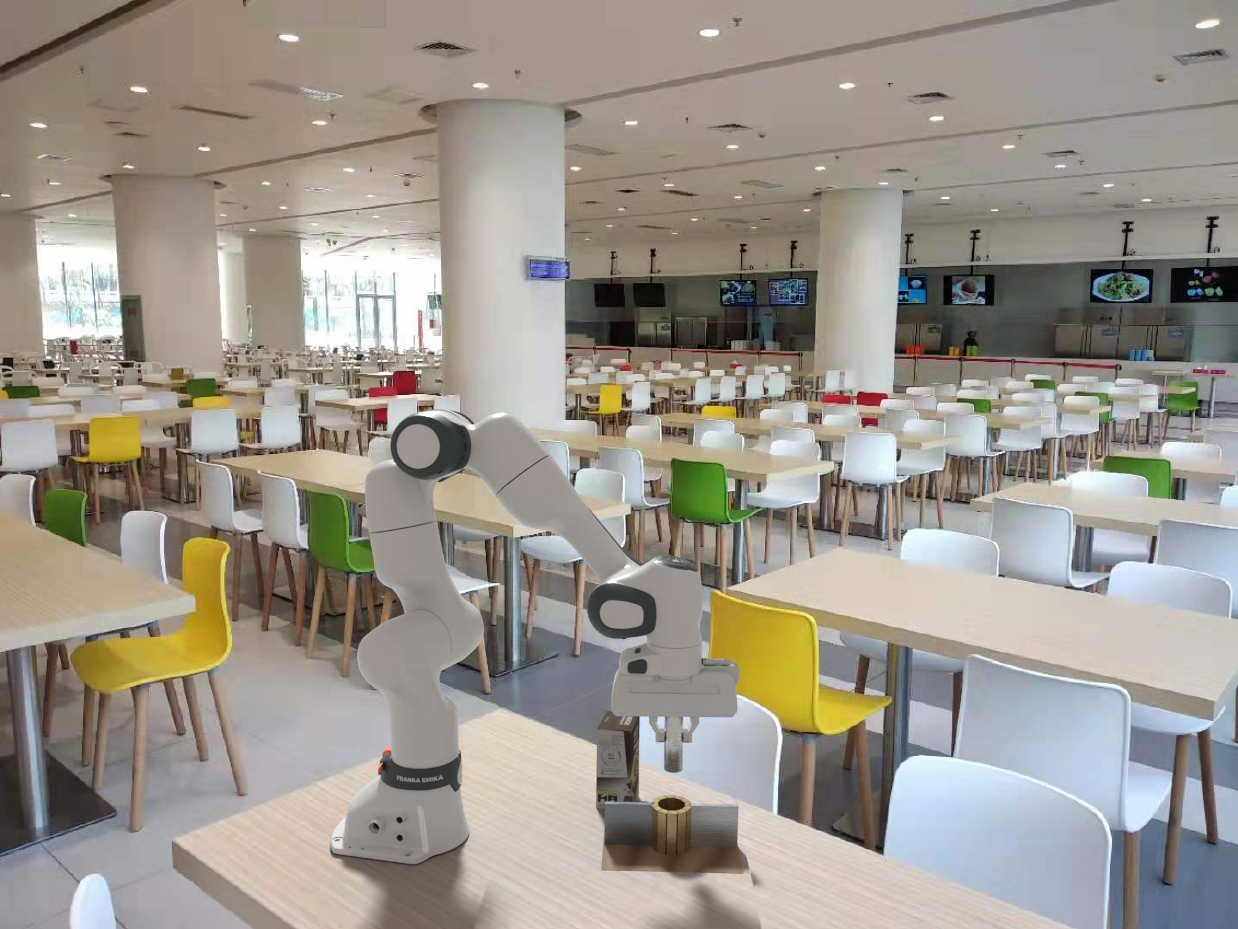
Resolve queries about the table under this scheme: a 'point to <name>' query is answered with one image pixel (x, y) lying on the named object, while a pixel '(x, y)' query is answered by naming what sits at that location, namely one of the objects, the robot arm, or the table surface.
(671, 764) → the hinge pin
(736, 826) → the hinge
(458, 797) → the robot arm
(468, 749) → the table surface
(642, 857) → the walnut base
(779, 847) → the table surface
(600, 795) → the coffee box
